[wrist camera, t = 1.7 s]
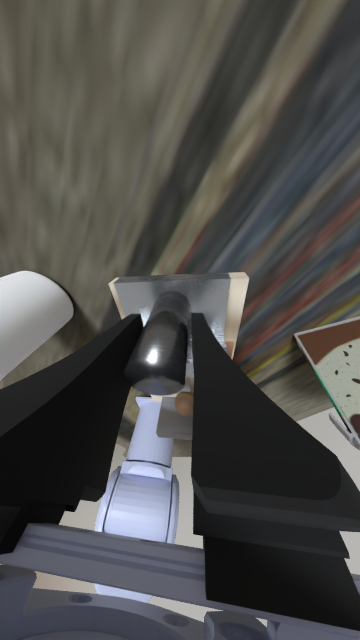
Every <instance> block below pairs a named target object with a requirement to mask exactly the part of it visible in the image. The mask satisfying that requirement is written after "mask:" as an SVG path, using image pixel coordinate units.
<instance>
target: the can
mask: <svg viewBox="0 0 360 640" xmlns="http://www.w3.org/2000/svg"><path fill="white" fill-rule="evenodd" d="M73 312H74V311H73V304H72V301H71V299H70V297H69V296H68V294H67V293H66V292H65V291H64V289H63V288H62V287H60V286H59V285H58V284H57V283H56V282H54V281H53V280H51V279H49V278H47V277H45V276H43V275H40V274H37V273H34V272H30V271H20V272H17V273H13V274H10V275H7V276H4V277H1V278H0V380H1V379H2V378H4V377H5V376H6V375H7V374H8V373H9V372H11V371H12V370H13V369H14V368H15V367H16V366H18V365H19V364H20V363H21V362H22V361H23V360H24V359H26V358H27V357H28V356H29V355H30V354H31V353H33V352H34V351H35V350H36V349H37V348H38V347H40V346H41V345H42V344H43V343H44V342H45V341H47V340H48V339H49V338H50V337H51V336H52V335H53V334H55V333H56V332H57V331H58V330H59V329H60V328H62V327H63V326H64V325H65V324H66V323H67V322H68V321H69V320H70V319H71V318H72V316H73Z"/></svg>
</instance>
